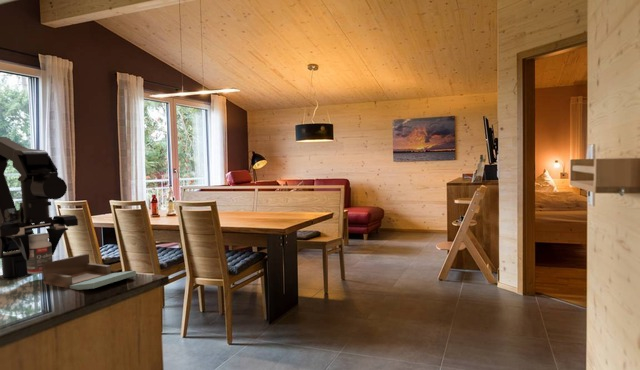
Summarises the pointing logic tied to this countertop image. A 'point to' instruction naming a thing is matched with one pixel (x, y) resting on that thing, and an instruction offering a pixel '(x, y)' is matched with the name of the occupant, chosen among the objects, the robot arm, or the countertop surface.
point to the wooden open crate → (72, 271)
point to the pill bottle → (38, 252)
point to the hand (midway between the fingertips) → (39, 257)
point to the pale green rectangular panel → (103, 280)
